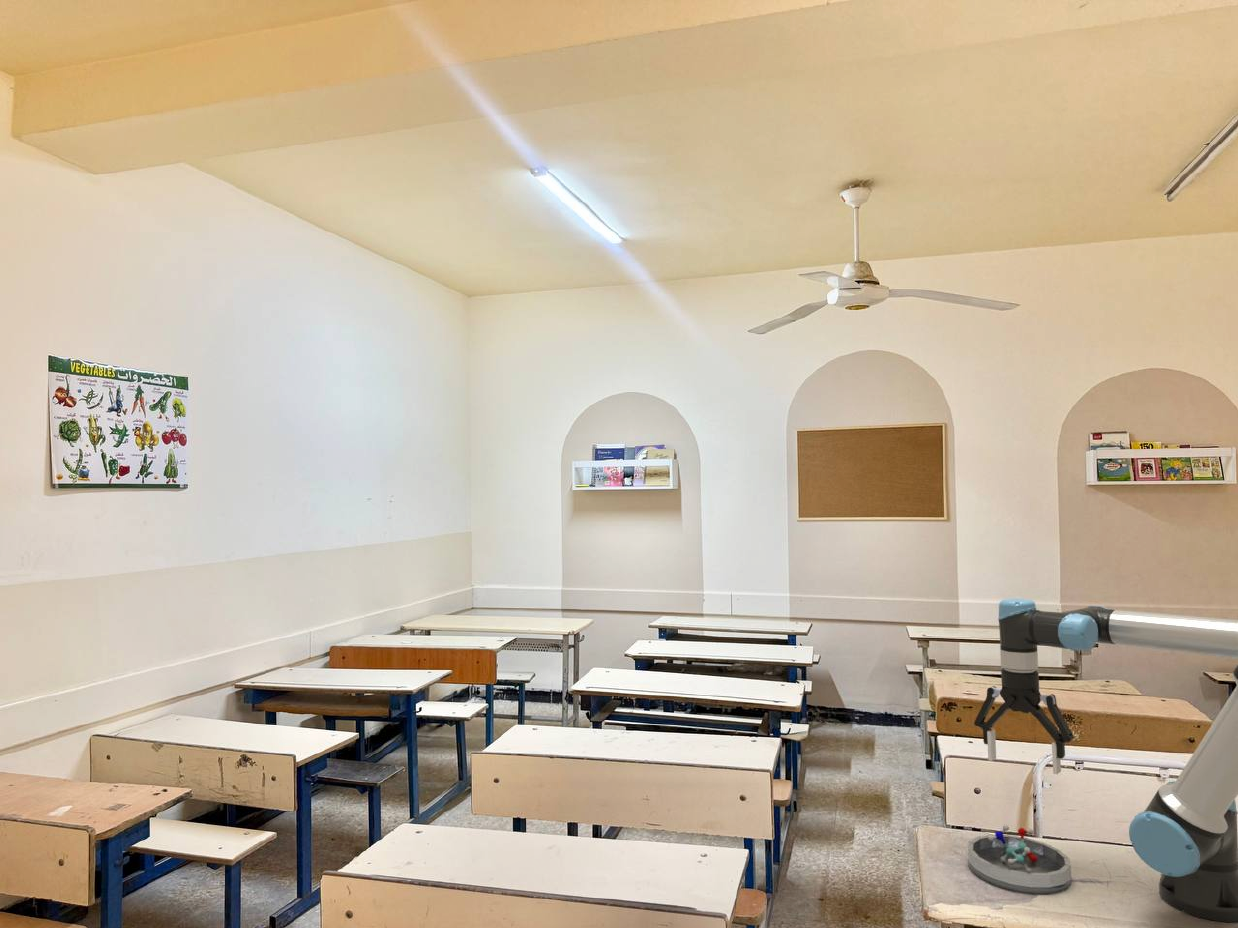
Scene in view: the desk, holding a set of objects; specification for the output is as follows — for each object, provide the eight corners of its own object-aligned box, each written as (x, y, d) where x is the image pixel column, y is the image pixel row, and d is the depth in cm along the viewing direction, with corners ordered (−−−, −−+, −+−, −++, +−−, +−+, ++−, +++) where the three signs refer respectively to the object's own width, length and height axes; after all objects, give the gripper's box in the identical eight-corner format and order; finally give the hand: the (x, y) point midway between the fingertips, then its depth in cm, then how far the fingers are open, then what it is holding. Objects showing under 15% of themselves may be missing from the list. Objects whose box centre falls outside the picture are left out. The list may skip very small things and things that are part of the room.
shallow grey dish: (1084, 872, 176) (1084, 854, 176) (1050, 904, 163) (1049, 884, 163) (991, 844, 191) (991, 827, 191) (952, 871, 178) (952, 852, 178)
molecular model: (1055, 864, 170) (1026, 816, 174) (1013, 883, 171) (985, 835, 176) (1049, 858, 180) (1022, 813, 184) (1010, 876, 181) (983, 831, 186)
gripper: (1086, 673, 175) (1091, 773, 173) (969, 659, 192) (973, 750, 191) (1075, 679, 169) (1080, 782, 168) (956, 664, 187) (960, 757, 186)
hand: (1023, 765), depth 180 cm, fingers open, 13 cm apart
